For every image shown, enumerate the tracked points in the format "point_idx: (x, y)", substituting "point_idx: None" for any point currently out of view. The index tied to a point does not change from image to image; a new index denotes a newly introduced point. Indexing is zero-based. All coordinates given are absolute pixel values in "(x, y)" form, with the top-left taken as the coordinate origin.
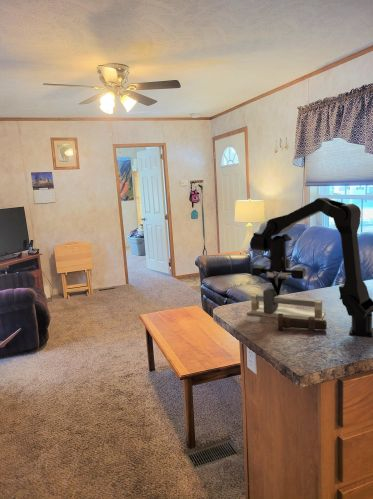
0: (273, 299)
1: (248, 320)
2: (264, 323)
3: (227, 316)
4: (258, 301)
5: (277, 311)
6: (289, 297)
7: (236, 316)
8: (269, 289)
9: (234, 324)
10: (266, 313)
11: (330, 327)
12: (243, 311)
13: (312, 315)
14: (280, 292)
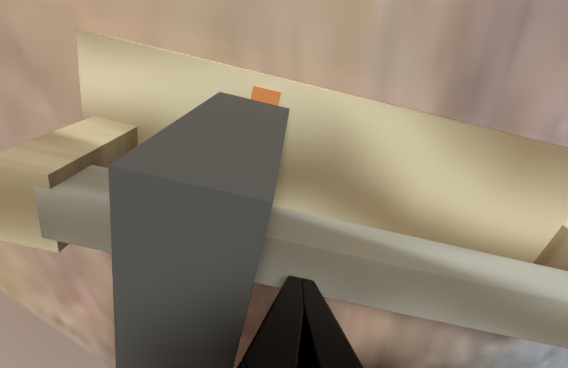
0: None
1: None
2: None
3: (11, 266)
4: (102, 162)
5: (289, 195)
6: (415, 272)
7: (58, 262)
8: (172, 362)
9: (102, 348)
10: None
11: (552, 355)
12: None
13: (523, 248)
14: (321, 304)
